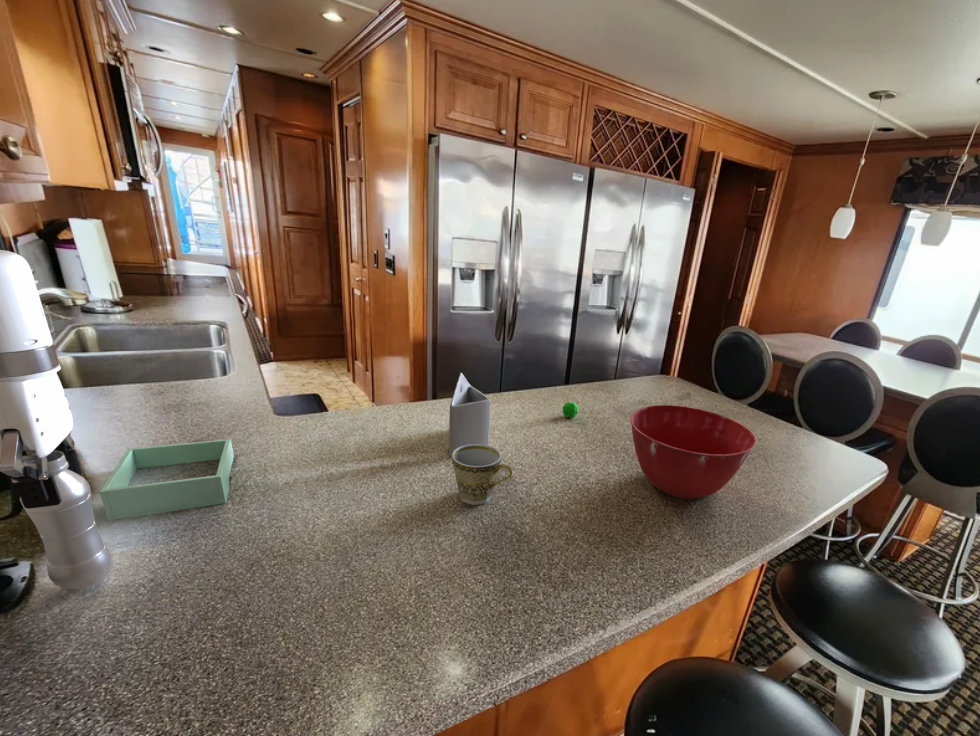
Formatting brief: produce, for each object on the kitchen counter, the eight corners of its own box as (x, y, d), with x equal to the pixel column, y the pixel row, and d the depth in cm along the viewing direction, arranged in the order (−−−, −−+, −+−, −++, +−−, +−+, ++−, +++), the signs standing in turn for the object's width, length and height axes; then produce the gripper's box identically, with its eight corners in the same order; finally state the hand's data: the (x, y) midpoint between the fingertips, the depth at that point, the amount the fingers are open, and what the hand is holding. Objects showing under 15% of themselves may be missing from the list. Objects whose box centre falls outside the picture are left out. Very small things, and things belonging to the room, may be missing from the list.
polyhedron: (562, 413, 146) (564, 399, 144) (578, 415, 146) (579, 401, 144) (560, 418, 142) (562, 404, 140) (576, 421, 141) (578, 406, 139)
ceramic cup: (441, 501, 94) (442, 458, 90) (466, 479, 103) (468, 439, 99) (498, 519, 90) (501, 475, 86) (519, 495, 99) (522, 454, 95)
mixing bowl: (597, 478, 110) (606, 419, 104) (659, 446, 130) (669, 396, 124) (705, 535, 93) (723, 468, 87) (757, 489, 113) (775, 432, 107)
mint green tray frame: (108, 520, 78) (99, 491, 76) (135, 474, 92) (128, 448, 90) (226, 503, 86) (220, 476, 84) (235, 462, 100) (230, 438, 97)
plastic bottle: (63, 603, 62) (14, 476, 54) (46, 580, 65) (-2, 456, 57) (124, 577, 67) (88, 457, 59) (106, 557, 70) (69, 440, 62)
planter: (480, 462, 111) (483, 387, 104) (448, 458, 111) (449, 382, 104) (495, 435, 126) (498, 367, 119) (466, 431, 126) (468, 363, 119)
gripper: (2, 341, 59) (44, 463, 66) (-88, 386, 45) (-22, 535, 52) (82, 341, 62) (114, 457, 69) (21, 383, 48) (69, 523, 55)
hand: (55, 489), depth 60 cm, fingers closed on plastic bottle, 6 cm apart
